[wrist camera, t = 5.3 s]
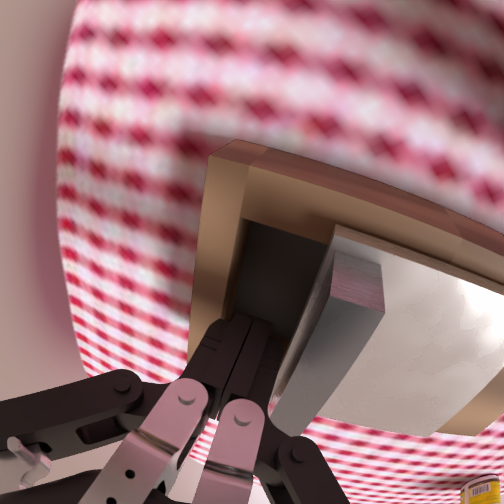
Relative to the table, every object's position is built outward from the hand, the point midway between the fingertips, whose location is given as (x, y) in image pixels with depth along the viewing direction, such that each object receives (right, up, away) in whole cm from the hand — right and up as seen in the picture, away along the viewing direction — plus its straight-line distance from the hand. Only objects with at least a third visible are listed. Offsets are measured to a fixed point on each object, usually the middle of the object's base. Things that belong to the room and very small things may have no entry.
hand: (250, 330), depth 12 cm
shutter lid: (+7, -2, 0) cm, 7 cm away
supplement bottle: (+29, -26, +12) cm, 41 cm away
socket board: (+8, 0, +3) cm, 8 cm away
